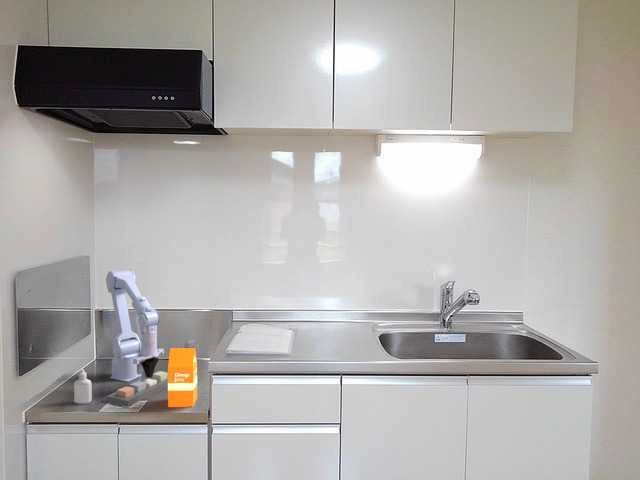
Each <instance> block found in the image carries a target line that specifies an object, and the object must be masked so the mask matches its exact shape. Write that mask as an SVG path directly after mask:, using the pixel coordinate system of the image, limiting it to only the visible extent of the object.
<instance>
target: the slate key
mask: <svg viewBox="0 0 640 480" xmlns="http://www.w3.org/2000/svg"><path fill="white" fill-rule="evenodd" d="M140 381H141V380H137V381H135V382H132V383H130V384H129V386H130V387H131V388H134V391H135V392H140V391H142V390H144V389H146V383H145V382H140Z"/></svg>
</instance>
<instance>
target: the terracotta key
mask: <svg viewBox="0 0 640 480" xmlns="http://www.w3.org/2000/svg"><path fill="white" fill-rule="evenodd" d="M116 392H117V396H119V397H123V398H127V397H129V396H131V395H133V394H134V388H131V387H128V386H125V385H124V386H123V387H122V388H119V389H117V391H116Z"/></svg>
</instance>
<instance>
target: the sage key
mask: <svg viewBox="0 0 640 480" xmlns="http://www.w3.org/2000/svg"><path fill="white" fill-rule="evenodd" d="M167 378H168V371H167V372H166V371H161V370H159V371H157V372H155V373H154V372H153V380H157V381H163V380H165V379H167Z"/></svg>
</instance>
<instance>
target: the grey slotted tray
mask: <svg viewBox="0 0 640 480" xmlns="http://www.w3.org/2000/svg"><path fill="white" fill-rule="evenodd" d="M147 379H153V376H152V377H151V378H148V377H146V378H144V379H141V380H139V381H140V382H143V381H145V380H147ZM127 387H130V385H128V386H127ZM166 388H168V378H167V379H165V380H163V381H157V383H156V384H154V385H152V386H150V387H149V386H146V389H144V390H142V391H140V392H135V391H134V394H133V395H131V396H129V397H127V398H123V397H119V396H117V391H115V392H112V393H110V394H109V395H107V396H106V402H107V403H112V404H115V405H116V404H117V405H120V406H125V407H130V406H132V405H134V404H136V403H138V402H140V401H142V400H143V399H146V398H148V397H150V396H152V395H153V394H156V393H158V392H160V391H162V390H163V389H166Z"/></svg>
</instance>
